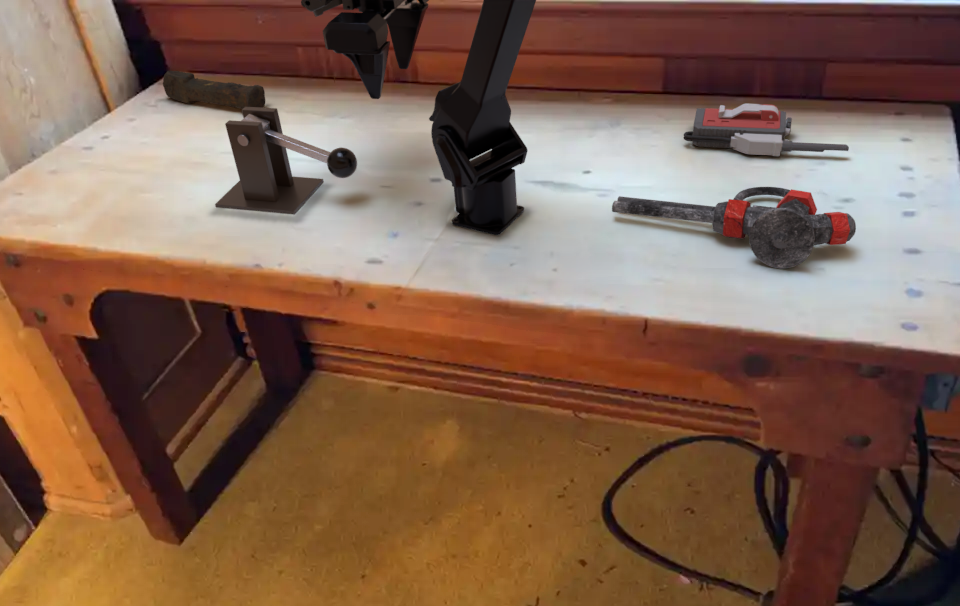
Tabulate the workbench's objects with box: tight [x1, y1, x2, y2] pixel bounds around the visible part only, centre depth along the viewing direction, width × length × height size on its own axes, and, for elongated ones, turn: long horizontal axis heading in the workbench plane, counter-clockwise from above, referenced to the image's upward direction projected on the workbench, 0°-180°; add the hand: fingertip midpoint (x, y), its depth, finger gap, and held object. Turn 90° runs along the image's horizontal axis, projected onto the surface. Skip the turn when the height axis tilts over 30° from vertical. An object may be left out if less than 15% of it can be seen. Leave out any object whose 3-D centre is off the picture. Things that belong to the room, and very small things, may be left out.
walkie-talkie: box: [683, 103, 850, 157], centre depth 115 cm, size 9×4×20 cm
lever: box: [240, 114, 358, 179], centre depth 108 cm, size 15×4×4 cm, turn 73°
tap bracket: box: [214, 107, 324, 215], centre depth 111 cm, size 11×8×11 cm
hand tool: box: [162, 70, 266, 110], centre depth 140 cm, size 19×4×5 cm, turn 61°
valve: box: [611, 186, 857, 269], centre depth 100 cm, size 6×26×15 cm
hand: (390, 83), depth 108 cm, fingers open, 9 cm apart
